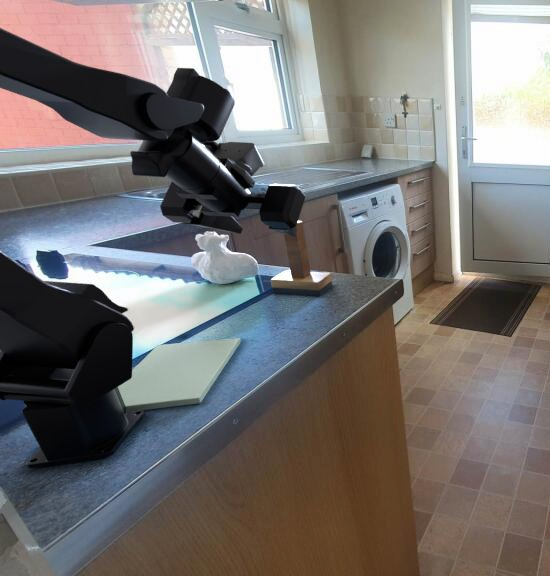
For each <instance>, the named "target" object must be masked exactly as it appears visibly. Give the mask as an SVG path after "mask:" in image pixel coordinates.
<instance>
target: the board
mask: <svg viewBox="0 0 550 576" xmlns="http://www.w3.org/2000/svg"><path fill="white" fill-rule="evenodd" d="M241 342H242V341H241V338H240V337H235V338H224V339H221V338H220V339H211V340H200V341H189V342H177V343H165V344H157V345H155V347H154V348H153V349H152V350H151V351H150V352H149V353H148V354H147V355H146V356H145V357H144V358H143V359H142V360H141V361H140V362H139V363H138V364H136V366H135V367H134V368H132V378H131V379H130V380H128V381H126V382H125V383H123V384H122V385H120V386H118V389H119V391H120V394H121V396H122V399H123V401H124V404H125V406H126V412H129V411H137V410H144V411H148V410H155V409H163V408H173V407H180V406H188V405H197V404H198V405H199V404H201V403H202V402H203V400H204V399H205V397H206V396H207V395H208V393H209V391H210V389H211V388H212V386H213V385H214V384H215V382H216V381H217V379H218V377H219V376H220V374H221V373H222V371H223V370H224V368H225V367H226V365H227V364H228V362H229V361H230V360H231V358H232V356H233V354H235V352H236V351H237V349H238V347H239V346H240V344H241Z"/></svg>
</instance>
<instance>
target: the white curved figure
mask: <svg viewBox="0 0 550 576" xmlns="http://www.w3.org/2000/svg"><path fill="white" fill-rule="evenodd" d="M229 237H230V235H228V234H220V235H219V234H218V233H217V232H216V231H209V230H207V231H205V232H203V234H202V233H197V234H196V235H195V238H194V240H195V241H196V243H197V244H196V246H198V248H199V249H200V250H202V251H199V252H196V253H193V255H191V259H190V262H191V263H190V265H191V266H192V267H193V268H194V269H195V270H196V271H197V272H198V274H200V276H201V278H202V279H205V281H209V282H211V283H212V284H219V285H225V284H226V285H227V284H231V283H235V282H238V281H241V280H245V279H251V278H255V277H256V276H257V275H258V274H259V269H260V268H259V264H258V261H257V260H256V259H255V258H254V257H253V256H252V255H250V254H247V253H244V252H233V251H231V250H229V248H228V247H227V243H228V241H230V238H229Z"/></svg>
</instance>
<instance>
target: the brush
mask: <svg viewBox="0 0 550 576" xmlns="http://www.w3.org/2000/svg"><path fill="white" fill-rule="evenodd" d="M296 228H297V235H296V237H292V236H288V235H285V234H283V238H284V244H285V249H286V254H287V260H288V265H289V269H285V270H284V271H282V272H281V273H279V274H277V275H275V276H274V277H272V278H270V280H269V281H270V286H271V288H272V290H273V294H278V295H279V294H281V295H282V294H283V295H297V296H313V297H321V296H323V294H325V293H326V292H327V291H329V290H330V289H332V287H333V276H332V272H323V271H311V266H310V260H309V259H310V258H309V253H308V248H307V247H308V246H307V242H306V236H305V235H306V234H305V228H304V223H303V221H302V220H298V222H297V225H296Z"/></svg>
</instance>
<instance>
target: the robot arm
mask: <svg viewBox="0 0 550 576" xmlns="http://www.w3.org/2000/svg"><path fill="white" fill-rule="evenodd" d="M0 89H1V90H4V91H5V90H6V91H7V92H11V93H14V94H17V95H20V96H22V97H25V98H28V99H30V100H34V101H36V102H38V103H40V104H42V105H44V106H46V107H48V108H50V109H52V110H53V111H54V112H56V114H58V115H59V116H60V117H61V118H62V119H64V120H65V121H66V122H67V123H71V124H72V125H75V126H77V127H78V128H80V129H83V130H85V131H87V132H88V133H91V134H93V135H95V136H97V137H100V138H103V139H109V140H125V141H126V140H129V141H130V140H131V141H142V142H141V144H140V145H139V147H138V149H137V150H131V151H130V152H129V155H130V157H131V163H130V170H131V173H132V175H133V176H136V177H151V178H165V177H166V178H167V179H169V180H170V181H171V182H170V184H169V186H168V187H167V191H166V193H165V194H164V196H163V199H162V201H161V203H160V205H159V207H160V212H161V214H162V216H163V217H164V218H166V219H167V220H169V221H171V222H172V223H179V224H180V223H181V224H183V225H187V226H194V227H201V228H206V229H211V230H217V231H220V232H221V231H222V232H226V233H233V234H237V235H241V234H242V232H243V230H244V228H243V227H242V225H241V224H240V223H239V222H238V221H237V220H236V219H235V218H239V217H240V215H241V212H242V211H244V210H247V209H248V210H259V211H258V214H259V218H260V222H262V223H263V224H264V225H265V226H267V227H268V229H269V230H271V231H273V232H277V233H280V234H283V235H284V234H285V235H288V236H292V237H296V235H297V228H296V225H297V222H298V221H299V218H300V216H301V213H302V211H303V210H302V209H303V206H304V203H305V200H306V197H307V196H306V194H305V193H304V192H303V190H302V189H301V187H299V186H298V184H284V183H272V184H268V186H267V189H266V191H265V192H261V191H259V192H257V191H250V189H254V187H255V184H256V179H255V178H253V176H254V175H255V174H256V173H257V172H258V170H259V169H260V168H263V167H264V166H265V162H264V160H263V158H262V156H261V154H260V152H259V149H258V148H257V146H256V144H255V143H253V142H246V141H245V142H244V141H242V142H241V141H228V142H219V143H218V142H217V141H218V140H220V138H221V137H222V134H223V132H224V129H225V128H226V125H227V122H228V120H229V119H230V116H231V114H232V112H233V109H234V107H235V99H234V96H233V95H232V93H231V92H230V91H229V90H228V89H227V88H224V87H223V86H222V85H220V84H219V83H218V82H216V81H214V80H212V79H211V78H208V77H205V76H202V75H200V73H198V71H197V70H196V69H195V68H194V67H177V68H176V70H175V72H174V74H173V77H172V81H171V83H170V85H169V86H168V89H167V90H166V91H165V90H164V89H163V88H161V87H160V86H158V85H157V84H156V83H153V82H151V81H148V80H144V79H141V78H138V77H134V76H131V75H128V74H126V73H125V74H124V73H120V72H116V71H111V70H107V69H104V68H103V69H102V68H97V67H93V66H88V65H85V64H82V63H79V62H75V61H73V60H71V59H68V58H67V57H65V56H62V55H61V54H58V53H56V52H54V51H51V50H49V49H48V48H47V49H46V47H42V46H40V45H38V44H36V43H34V42H32V41H30V40H27V39H25V38H23V37H21V36H19V35H17V34H15V33H12V32H10V31H8V30H6V29H4V28H2V27H0ZM128 310H129V308H128V307H125V306H122V305H119V304H117V303H115V302H114V301H112V300H111V298H109V296H108V295H107V294H106V293H105V292H104V291H103V290H102V289H101V288H99V287H98V286H96V285H95V284H94V283H83V282H81V283H79V282H68V281H67V282H66V281H52V280H51V281H50V280H43V279H41V278H39V276H37V275H35V274H34V273H33V272H31V271H30V270H28V269H27V268H26V267H25V266H23V265H22V264H20V263H19V262H17V260H14V258H12V257H11V256H9V255H8V254H6V253H5V252H4V251H2V250H1V249H0V401H6V400H11V401H22V402H23V405H24V408H23V409H22V410H21V411H20V413H21V415H22V416H23V418H24V420H25V422H26V424H27V425H28V427H29V429H30V431H31V433H32V436H33V437H34V439H35V441H36V442H37V443H36V444H38V446H39V450H37V451H36V452H35V453H34V454H33V455H32V456H31V457H30V458H29V459H28V460H27V461H26V462H25V465H26V466H27V468H28V469H34V468H35V469H36V468H41V467H49V466H56V465H63V464H71V463H76V462H83V461H90V460H91V461H92V460H98V459H105V458H108V457H110V456H112V455H114V453H115V452H116V451H117V450H118V449H119V448H120V446H122V444H123V443H124V441H125V440H126V439H127V438H128V436H129V435H130V434H131V433H132V432H133V431H134V429H135V428H136V427H137V425H138V424H139V423H141V421H142V420H143V419H144V417H145V415H146V413H145V410H137V411H129V412H126V406H125V404H124V401H123V399H122V396H121V394H120V391H119V389H118V386H120V385H122V384H123V383H125V382H126V381H128V380H130V379H131V378H132V370H133V353H134V351H133V350H134V349H133V348H134V337H133V335H134V334H133V332H134V330H135V327H134V324H133V322H132V321H131V320H130V319H129V318H128V316H126V315H125V314H124V313H126V312H128Z"/></svg>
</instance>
